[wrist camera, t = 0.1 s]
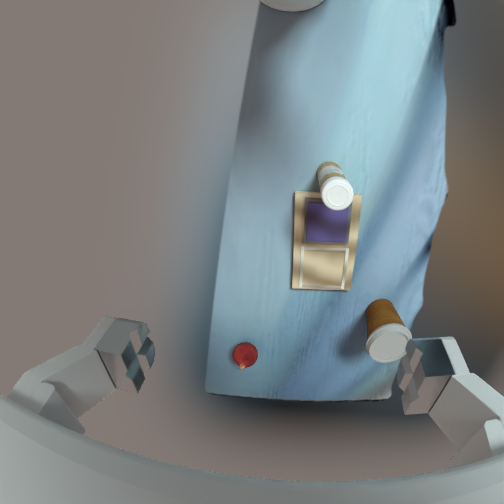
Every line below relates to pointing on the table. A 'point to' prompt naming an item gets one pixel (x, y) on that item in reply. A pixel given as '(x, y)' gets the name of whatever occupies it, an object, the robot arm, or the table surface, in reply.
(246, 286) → the table surface
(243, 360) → the onion
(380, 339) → the disposable coffee cup
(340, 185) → the sprinkles bottle
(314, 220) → the stamp station
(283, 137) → the table surface
